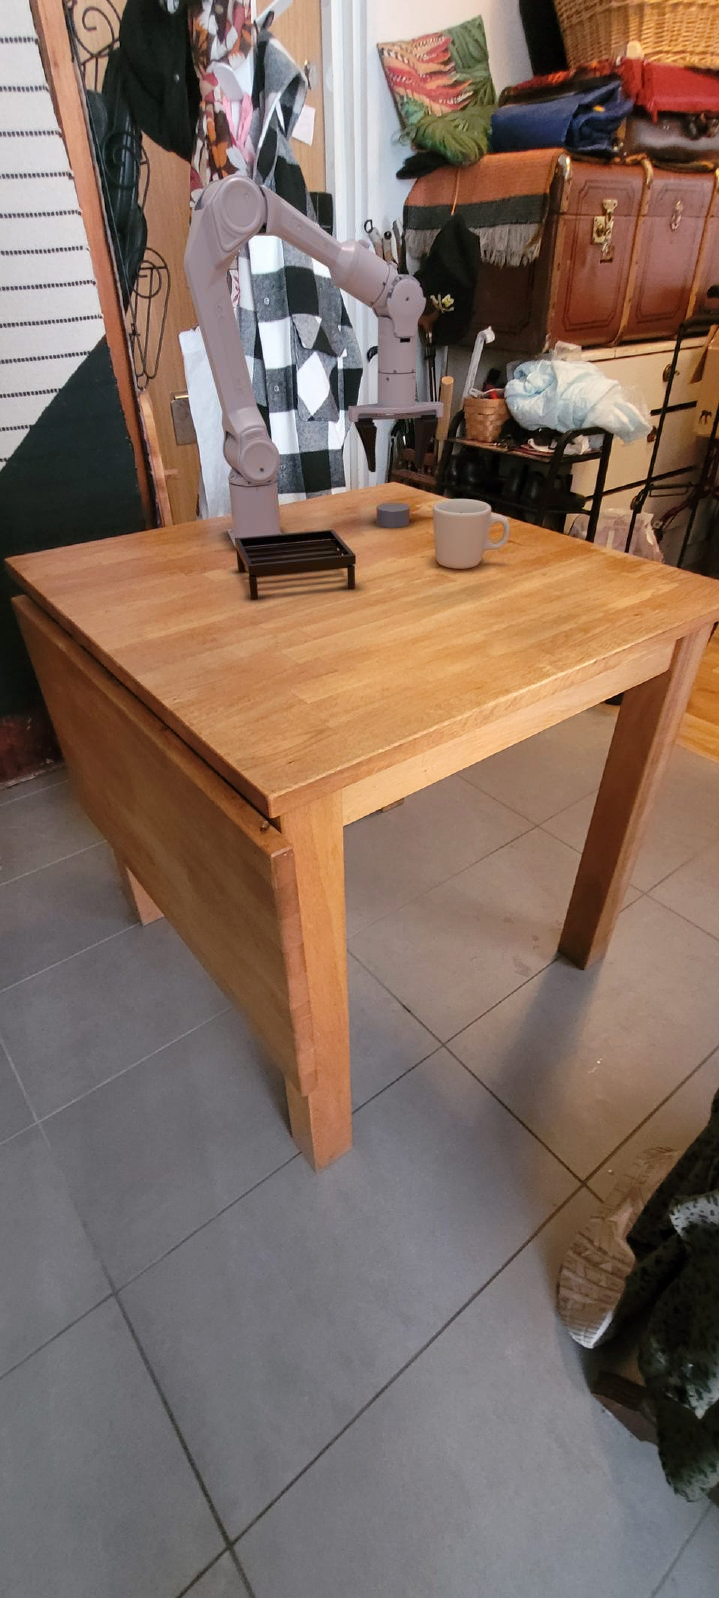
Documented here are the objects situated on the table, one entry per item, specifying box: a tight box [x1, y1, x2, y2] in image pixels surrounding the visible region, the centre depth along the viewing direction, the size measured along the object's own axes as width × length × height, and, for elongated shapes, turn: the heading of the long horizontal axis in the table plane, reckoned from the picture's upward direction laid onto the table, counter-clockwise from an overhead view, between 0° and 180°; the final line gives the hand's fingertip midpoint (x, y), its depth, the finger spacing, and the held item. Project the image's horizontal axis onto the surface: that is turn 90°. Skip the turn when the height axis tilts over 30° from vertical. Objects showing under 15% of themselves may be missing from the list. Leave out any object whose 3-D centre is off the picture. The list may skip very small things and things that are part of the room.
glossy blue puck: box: [375, 502, 411, 529], centre depth 126 cm, size 6×6×3 cm
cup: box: [432, 498, 511, 570], centre depth 107 cm, size 11×8×8 cm
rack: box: [234, 529, 357, 601], centre depth 104 cm, size 12×14×4 cm
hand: (395, 469), depth 122 cm, fingers open, 7 cm apart
